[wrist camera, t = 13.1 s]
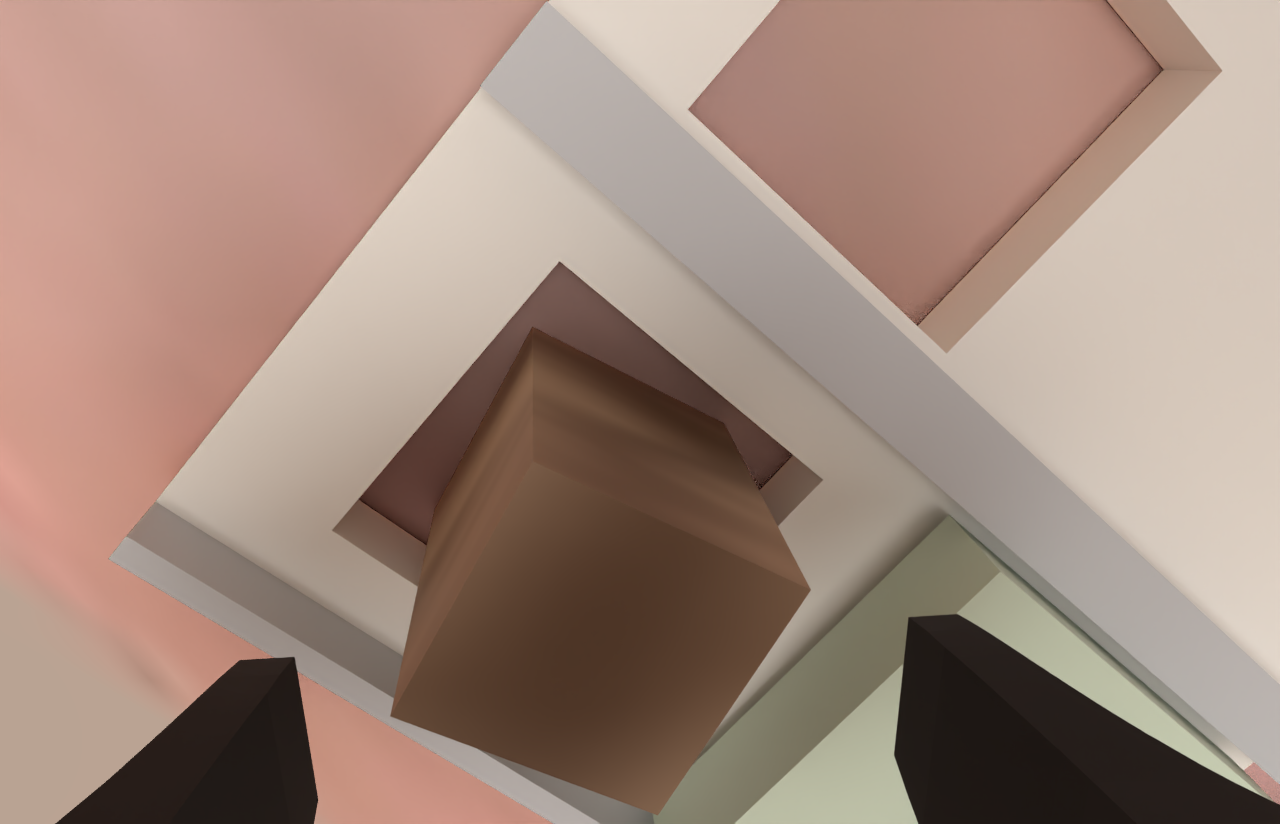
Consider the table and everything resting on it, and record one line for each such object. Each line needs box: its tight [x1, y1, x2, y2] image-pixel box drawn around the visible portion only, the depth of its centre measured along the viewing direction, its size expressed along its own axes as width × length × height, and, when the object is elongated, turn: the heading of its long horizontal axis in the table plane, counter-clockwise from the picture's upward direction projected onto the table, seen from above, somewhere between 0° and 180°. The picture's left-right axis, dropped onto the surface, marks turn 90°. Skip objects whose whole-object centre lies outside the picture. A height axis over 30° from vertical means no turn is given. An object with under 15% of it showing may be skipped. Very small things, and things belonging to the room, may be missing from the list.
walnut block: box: [390, 327, 811, 815], centre depth 15 cm, size 4×4×6 cm
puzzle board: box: [109, 0, 1280, 824], centre depth 17 cm, size 20×19×3 cm
